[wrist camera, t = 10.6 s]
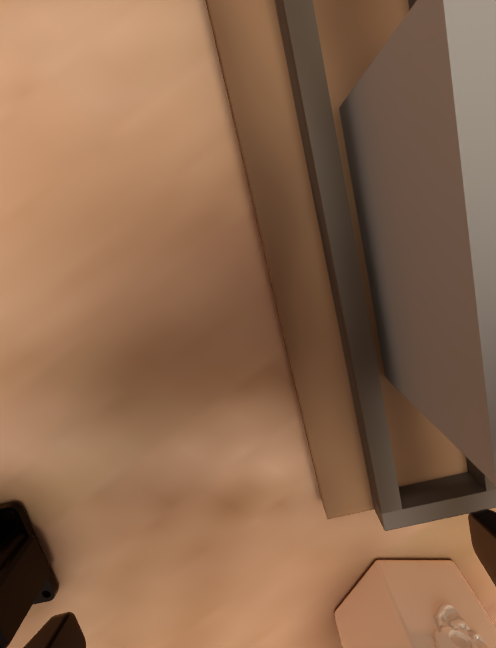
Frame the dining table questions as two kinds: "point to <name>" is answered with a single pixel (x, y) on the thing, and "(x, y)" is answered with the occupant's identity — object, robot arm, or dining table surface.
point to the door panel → (433, 213)
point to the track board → (331, 255)
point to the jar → (414, 608)
